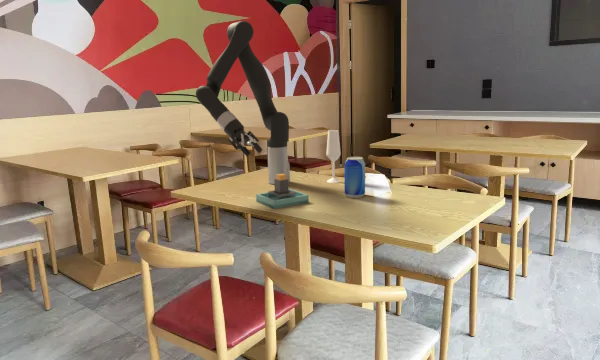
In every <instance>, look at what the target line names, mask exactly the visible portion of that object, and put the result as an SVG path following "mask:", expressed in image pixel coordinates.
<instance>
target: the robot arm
mask: <svg viewBox="0 0 600 360" xmlns="http://www.w3.org/2000/svg"><path fill="white" fill-rule="evenodd" d="M226 34H227V38H228V41H229V43H228V45H227V47H226V48H225V49H224V51H223V52H222V53H221V54H220V55H219V56H218V58H217V59H216V61H215V62H214V63H213V65H212V67H211V69H210V70H209V71H208V74H207V77H206V81H207V82H206V85H200V86H198V87H197V89H196V91H195V97H196V100H197V101H199V103H200V104H201V105H202V106H203V107H204V108H205V109H206V110H207V111H208V113H209V114H210V115H211V117H212V118H213V119H214V121H215V122H216V123H217V124H218V126H219V127H220V128H221V129H222V130H223V132H224V133H225V134H226V135H227V136H228V139H227V140H228V141H229V143H230V144H231V146H232V147H233V148H234V149H235V150H237V151H238V150H239V151H241V152H242V153H243V154H244V155H245V157H249V156H250V155H251V154H252V153H251V151H250V150H249V148H248V147H247V146H245V145H248V146H252V147H253V148H254V150H255V151H256V152H257V153H258V154H260V153H262V151H263V149H262V147H261V146H260V145H259V141H260V139H258V137H257V136H256V135H255V134H254V133H253V132H252V131H251V130H249V131H247V132H246V131H245V126H244V125H243V124H242V122H241V121H240V120H239V119H238V118H237V117H236V116H235V115H234V114H233V112H231V110H230V109H228V107H227V106H226V105H225V104H224V103H223V102H222V101H221V100H220V99H219V98H218V97H219V95H220V92H221V88H222V85H223V84H224V82H225V80H226V79H227V76H228V75H229V73H230V71H231V69H232V67H233V65H234V64H235V62H236V61H237V59H238V60H239V62H240V65H241V69H242V70H243V72H244V75H245V78H246V81H247V82H248V85H249V87H250V89H251V92H252V94H253V96H254V99H255V101H256V104H257V105H258V106H257V107H259V111H260V115H261V119H262V121H263V125H264V126H265V128H266V129H267V130H268V131H269V132H270V138H269V139H268V140H267V173H268V184H271V185H275V184H274V179H276V175H277V174H285V175H286V179H288V183H290V182H291V176H290V175H291V173H290V171H291V170H290V169H291V168H290V162H289V160H288V159H289V158H288V157H289V156H288V141H289V137H290V124H289V123H290V121H289V117H288V116H287V114H286V113H285V112H282V111H278V110H277V108H276V107H275V104H274V101H273V98H272V84H271V81H270V77H269V75H268V73H267V71H266V68H265V66H264V65H263V63H262V62H261V61H260V60H259V58H258V57H257V56H256V55H255V53H254V52H253V50H252V47H251V45H250V41H251V40H252V39H253V37H254V27H253V26H252V24H251V23H250V22H249V21H247V20H240V21H236V22H233V23H231V24H230V25H228V27H227V30H226Z"/></svg>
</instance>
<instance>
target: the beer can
mask: <svg viewBox="0 0 600 360" xmlns="http://www.w3.org/2000/svg"><path fill="white" fill-rule="evenodd" d="M344 194H345V196H346V197H347V198H349V199H359V198H363V197H364V195H365V194H366V163H365V161H364V158H363V157H362V156H348V157H346V160H345V162H344Z"/></svg>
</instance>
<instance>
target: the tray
mask: <svg viewBox="0 0 600 360" xmlns="http://www.w3.org/2000/svg"><path fill="white" fill-rule="evenodd" d="M289 190H291V191H294V192H296V197H291V198H286V199H280V200H272V199H270V198H269V195H268V192H262V193H256V194H255V197H256V198H255V200H256V203H259V204H261V205H264V206H265V207H268V208H271V209H272V210H276V209H280V208H281V209H282V208H288V207H291V206H298V205H302V204H308V203H309V202H310V201H309V200H310V199H309V194H306V193H304V192H300V191H297V190H294V189H291V188H289Z"/></svg>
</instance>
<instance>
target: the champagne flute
mask: <svg viewBox="0 0 600 360" xmlns="http://www.w3.org/2000/svg"><path fill="white" fill-rule="evenodd" d="M339 134H340V133H339V130H337V129H336V130H335V129H329V130H327V140H326V152H325V154H326V155H325V156H326V157H327V158H328V159H329V160H330V161H331V163H332V164H331V165H332V167H331V170H332V172H331V173H332V175H331V176H332V177H331V178H329V179H328V180H326V182H327V183H331V184H335V183H336V184H337V183H341V180H340V179H338V178H337V177H336V167H335V166H336V165H335V164H336V161H337V160H338V159H339V158H340V157H341V145H340V143H341V142H340V135H339Z"/></svg>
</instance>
